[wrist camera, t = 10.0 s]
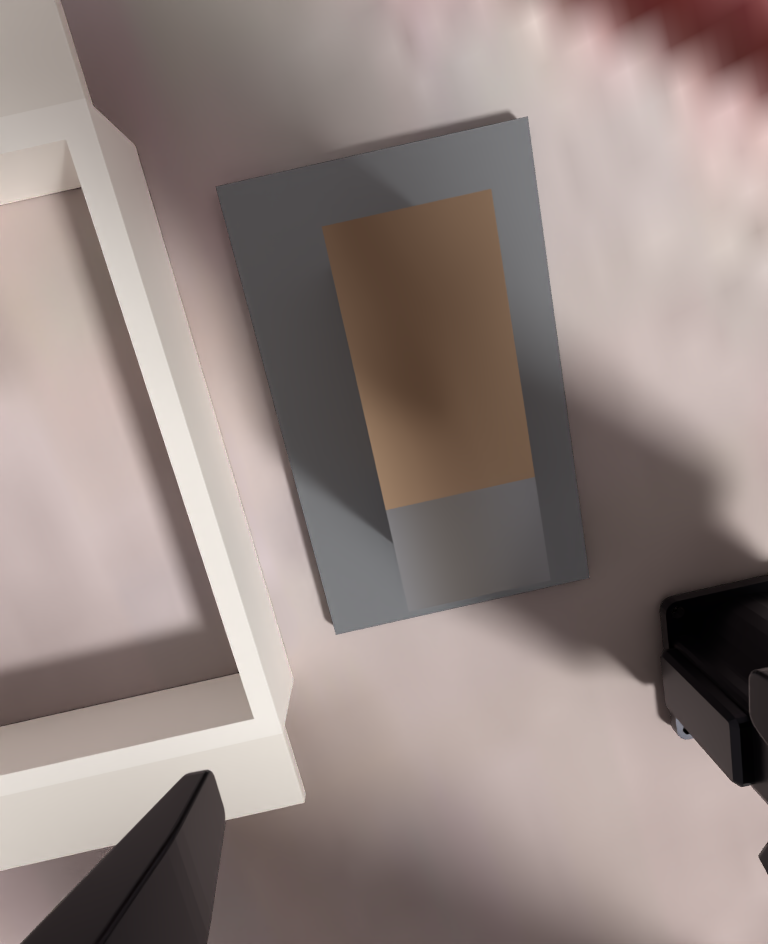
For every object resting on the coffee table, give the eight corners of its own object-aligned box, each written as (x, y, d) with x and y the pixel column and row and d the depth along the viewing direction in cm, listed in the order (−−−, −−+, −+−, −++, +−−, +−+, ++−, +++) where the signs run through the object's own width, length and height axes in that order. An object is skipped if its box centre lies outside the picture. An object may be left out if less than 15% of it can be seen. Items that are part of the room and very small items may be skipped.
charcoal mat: (522, 123, 16) (527, 116, 16) (583, 572, 20) (589, 577, 20) (219, 191, 16) (215, 186, 16) (336, 628, 20) (336, 634, 20)
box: (452, 237, 17) (491, 188, 12) (500, 522, 19) (550, 580, 14) (332, 264, 17) (321, 226, 12) (395, 545, 19) (408, 611, 14)
